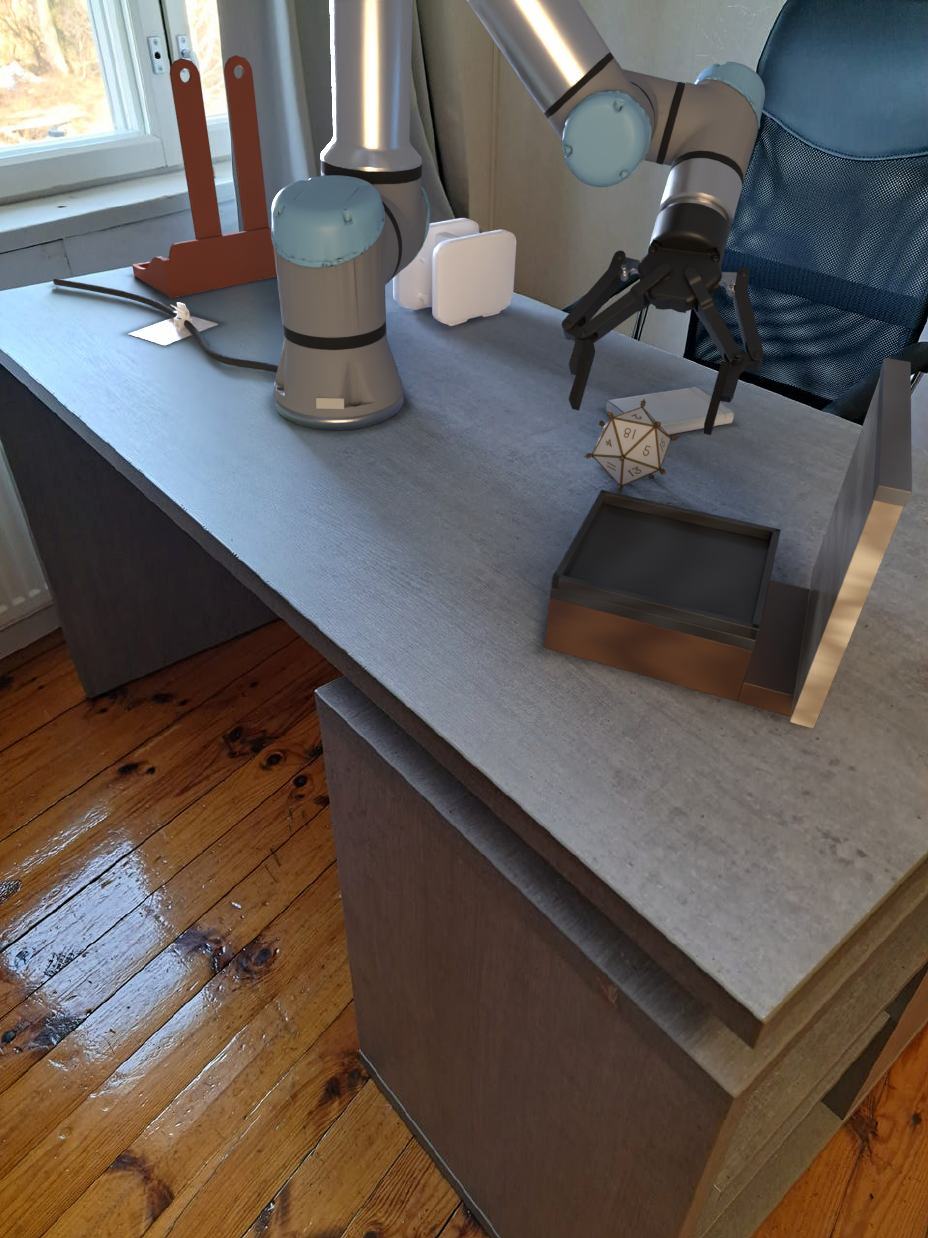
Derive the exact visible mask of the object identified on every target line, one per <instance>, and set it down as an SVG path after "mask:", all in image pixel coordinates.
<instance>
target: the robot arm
mask: <svg viewBox="0 0 928 1238" xmlns="http://www.w3.org/2000/svg"><path fill="white" fill-rule="evenodd" d="M413 2H414V0H329V15H330V16H329V19H330V21H329V23H330V55H331V56H330V58H331V59H330V61H331V87H332V88H331V96H332V130H333V133H332V134H333V136H332V138H331V140H330V142H329V143H328V144H327V145H326V146H325V147H324V148H323V150H322V151H321V152H320V175H318V176H313V177H312V176H311V177H309V179H307V180H305V179H300V180H297V181H295V182H291V183H290V184H288V185H286V186H284V187H283V188H281V189H280V190H279V192H277V194H276V195H275V197H274V199H273V201H272V204H271V211H270V213H271V226H272V227H271V226H270V227H271V239H272V243H273V246H274V255H275V263H276V272H277V276H276V280H277V289H278V296H279V297H278V299H279V309H280V316H281V325H282V334H283V342H282V347H281V352H280V357H279V361H278V364H274V363H269V362H264V361H257V360H248V359H242V358H235V357H231V356H227V355H224V354H222V353H219V352H217V351H216V350H214V349H213V348H212V347H211V345H210V344H209V342H208V340H207V339H206V338H205V337H204V335H203V334H202V333H201V331H200V332H199V331H198V330H197V329H196V328H195V327H194V326H193V325H192V323H190V322H189V321H188V320H185V321H184V326H185V327H186V328H187V329H188V330H189V331H190V333H191V334H192V335H191V336H193V338H194V339H195V340H196V341H197V342H198V343H199V345H200V346H201V348H202V349H203V352H205V354H206V355H207V357H209V358H211V359H212V360H214V361H217V362H219V363H221V364H224V365H229V366H233V367H238V368H244V369H245V368H247V369H253V370H259V371H260V370H261V371H268V372H271V373H275V378H274V382H273V383H274V384H273V401H274V408H275V409H276V411H277V412H278V413H279V415H280V416H282V417H283V418H285V419H286V420H288V421H289V422H292V423H294V424H297V425H300V426H304V427H307V428H313V429H321V430H353V429H359V428H365V427H369V426H373V425H376V424H379V423H383V422H384V421H387V420H389V419H390V418H392V417H393V416H396V415H397V413H398V412H400V410H401V409H402V407H403V405H404V385H403V380H402V378H401V376H400V372H399V369H398V366H397V364H396V361H395V358H394V355H393V352H392V350H391V347H390V344H389V341H388V337H387V307H386V306H387V305H386V302H387V301H386V285H388V284H389V283H390V282H391V281H392V280H393V278H394V277H395V276H396V275H397V274H398V273H399V272H400V271H401V270H403V269H404V268H406V267H407V266H408V265H409V264H410V263H411V262H412V261H413V260H414V259H415V258H416V256H417V255H418V253H419V252H420V250H421V248H422V247H423V244H424V242H425V240H426V237H427V234H428V231H429V226H430V224H431V208H430V207H431V206H430V201H429V198H428V195H427V193H426V190H425V188H424V187H423V186H422V182H423V181H422V180H423V179H422V177H423V176H422V174H423V158H422V157H421V155H420V154H419V153H418V151H417V150H416V149H415V148H414V146H413V145H412V144H411V141H410V139H411V138H410V137H411V136H410V133H411V132H410V131H411V89H412V46H413V44H412V43H413ZM466 2H467V3H468V5H469V6H470V7H471V9H472V11H473V12H474V13H475V15H476V16H477V18H478V19H479V21H480V22H481V24H482V25H483V26H484V28H485V29H486V31H487V32H488V35H489V36H490V37H491V38H492V40H493V41H494V43H495V44H496V46H497V47H498V49H499V50H500V52H501V54H503V56H504V57H505V59H506V60H507V62H508V64H509V65H510V66H511V68H512V69H513V70H514V72H515V74H516V76H517V77H518V78H519V80H520V81H521V82H522V84H523V85H524V87H525V88H526V90H527V92H528V93H529V94H530V96H531V97H532V98H533V100H534V102H535V103H536V104H537V106H538V107H539V109H540V110H541V111H542V113H543V115H544V117H546V120H547V121H548V123H549V125H550V126H551V128H552V129H553V130H554V132H555V133H556V135H557V136H558V138H559V139H560V141H561V149H562V153H563V158H564V161H565V164H566V166H567V168H568V170H569V171H570V172H571V174H572V175H573V176H574V177H575V178H576V179H577V180H579V181H580V182H582V183H583V184H585V185H587V186H589V187H595V188H609V187H613V186H616V185H618V184H620V183H622V182H623V181H625V180H627V179H629V178H630V176H632V175H633V174H634V173H635V172H636V171H637V170H638V169H639V167H640V165H641V164H642V163H643V162H644V161H645V162H650V163H655V164H656V165H662V166H663V165H664V166H669V167H670V170H669V173H668V177H667V180H666V184H665V187H664V190H663V194H662V197H661V201H660V205H659V210H658V215H657V216H656V218H655V223H654V226H653V230H652V233H651V237H650V241H649V244H648V247H647V251H646V253H645V255H644V256H643V257H642V258H641V259H640V260H639V259H636V258H631V257H628V256H627V255H626V252H625V251H624V250H617V251H615V253H613V256H612V259H611V261H610V262H609V266H608V269H607V270H606V271H604V273H603V274H602V275H601V276H600V278H599V279H598V280H597V281H596V282H595V283H594V284H593V286H592V287H591V288H590V289H589V290H588V291H587V293H585V295H584V296H583V297H582V298H581V299H580V301H578V303H577V304H576V305H575V306H574V307H573V309H572V310H571V311H570V312H569V313H568V314H567V315H566V317H565V318H564V319H563V320H562V321H561V328H562V332H563V334H564V338H565V339H566V340H567V341H572V342H574V345H573V348H572V351H571V355H570V358H569V362H568V368H569V372H570V375H572V376H574V378H573V383H572V386H571V390H570V393H569V397H568V402H569V404H570V407H571V410H574V411H580V409H581V405H582V402H583V397H584V395H585V391H586V386H587V384H588V382H589V381H588V380H589V377H590V374H591V370H592V367H593V363H594V359H595V357H596V353H597V352H596V351H597V350H596V346H595V343H596V342H598V341H599V340H601V339H602V338H603V337H605V336H606V335H608V334H609V333H610V332H612V331H613V330H614V329H615V328H617V327H619V325H621V324H622V323H624V322H626V321H627V320H628V319H630V318H631V317H632V316H634V314H636V313H637V312H642V311H644V310H645V309H646V308H647V307H649V306H651V305H652V306H654V307H655V310H662V311H665V310H672V311H674V312H678V313H681V314H686V313H687V312H688V311H692V310H693V311H694V312H695V314H696V316H697V318H698V320H699V321H700V322H702V324H703V326H704V328H705V330H706V331H707V334H708V336H709V337H710V339H711V341H712V342H713V344H714V346H715V348H716V349H717V351H718V353H719V355H720V356H721V359H722V360H723V361H722V360H721V362H720V364H719V369H718V372H717V375H716V380H715V383H714V386H713V391H712V394H711V401H710V405H709V408H708V412H707V416H706V419H705V423H704V428H703V435H708V436H712V433H713V430H714V427H715V426H714V423H715V419H716V416H717V412H718V408H719V405H720V403H721V402H724V403H731V402H732V401H733V399H734V397H735V393H736V391H737V390H736V389H737V386H738V383H739V378H740V375H741V374H742V373H743V372H745V371H749V370H751V371H754V372H755V371H756V372H757V371H759V370H760V369H761V368H762V365H763V361H764V356H765V352H764V348H763V344H762V340H761V336H760V332H759V328H758V325H757V321H756V317H755V313H754V309H753V306H752V301H751V297H750V294H749V290H748V289H749V281H750V275H751V274H750V273H751V272H750V269H749V268H748V267H746V266H743V267H739V269H738V270H737V271H736V272H733V271H723V270H722V267H721V266H722V262H723V258H724V255H725V251H726V248H727V244H728V241H729V237H730V232H731V226H732V225H733V222H734V219H735V215H736V212H737V207H738V203H739V200H740V196H741V193H742V190H743V185H744V181H745V178H746V174H747V171H748V167H749V164H750V160H751V157H752V155H753V154H752V153H753V150H754V147H755V145H756V144H755V143H756V139H757V136H758V134H759V130H760V127H761V117H762V113H763V109H764V105H765V99H766V90H765V88H766V87H765V85H764V82H763V80H762V78H761V76H760V75H759V74H758V73H757V72H756V71H755V70H754V69H753V68H751V67H749V66H748V65H746V64H743V63H740V62H736V61H727V62H725V63H724V64H720V63H713V64H711V65H709V66H707V67H706V68H704V70H702V71H701V72H700V73H699V74H698V76H697V78H696V80H695V82H694V83H692V82H688V81H687V82H683V81H675V80H672V79H668V78H667V79H666V78H663V77H658V76H654V75H650V74H646V73H641V72H638V71H634V70H629V69H626V68H625V69H624V68H622V66H621V65H620V63H619V62H618V61H617V59H616V58H615V56H614V55H613V53H612V52H611V49H610V47H609V46H608V44H607V43H606V41H605V39H604V38H603V37H602V35H601V33H600V32H599V30H598V29H597V27H596V25H595V24H594V23H593V21H592V19H591V17H590V16H589V14H588V13H587V11H586V10H585V8H584V7H583V5H582V3H581V2H580V0H466ZM633 275H637V276H638V279H639V281H638V282H636V283H635V284H634V285H632V286H631V288H630V290H629V291H628V292H627V293H625V294H624V295H622V296H621V297H620V298H618V299H617V300H615V301H614V302H613V303H612V304H610V305H609V306H607V307H606V308H605V309H603V310H602V311H600V310H601V308H603V306H604V305H605V304H606V303H607V302H608V301H609V299H611V297H612V296H613V295H614V293H616V291H617V290H618V289H619V287H620V286H621V284H622V282H627V281H628V280H629V279H630V277H631V276H633ZM52 283H53V285H55V286H59V287H65V288H72V289H77V290H84V291H90V292H95V293H99V294H105V295H110V296H116V297H121V298H124V299H129V300H132V301H136V302H139V303H142V304H145V305H148V306H151V307H153V308H156V309H158V310H160V311H162V312H164V313H165V314H168V315H169V316H170V317H171V318H173V317H176V316H177V313H174V312H173V311H176V309H175V308H173V307H172V306H170V305H167V304H165V303H162V302H161V301H158V300H156V299H153V298H151V297H147V296H144V295H141V294H138V293H134V292H130V291H126V290H122V289H119V288H113V287H107V286H102V285H97V284H91V283H86V282H80V281H74V280H69V279H62V278H53V280H52ZM720 287H723V288H724V289H725V292H726V294H727V296H728V297H730V298H733V308H734V313H735V316H736V321H737V324H738V328H739V332H740V336H741V341H742V344H743V347H744V351H741V349H740V348H739V346H738V344H737V342H736V340H735V339H734V337H733V335H732V333H731V331H730V330H729V328H728V326H727V325H726V323H725V321H724V319H723V318H722V316H721V314H720V312H719V310H718V309H717V307H716V305H715V303H714V300H713V297H712V294H713V293H715V292H716V291H717V290H718V289H719V288H720ZM599 311H600V312H599ZM597 313H598V314H597ZM596 314H597V315H596ZM180 319H182V318H179V320H180Z"/></svg>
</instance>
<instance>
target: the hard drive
mask: <svg viewBox="0 0 928 1238" xmlns="http://www.w3.org/2000/svg"><path fill="white" fill-rule="evenodd" d="M711 397H712V395H709V394H708V393H706V392H704V390H702V389H700V388H698V387H697V386H693V387H685V388H678V389H672V390H665V391H658V392H651V393H646V394H640V395H633V396H627V397H620V398H613V399H608V400H607V401H606V407H605V411H606V412H607V413H608V412H612V414H614V415H613V416H617V415H620V414H622V413H625V412H628V411H631V410H634V409H636V408H639V407H641V405H640V404H641V401H642V400H643V399H645V402H646V403H645V406H644V409H645V410H646V411H647V412H648V413H649V414H650V415H651V416H652V417H653V418H654V419H655V421H656V422H657V421H658V422H661V427H662V428H663V429H664V430H665V431H666V433H667V434H668V435H669V436H670V435H675V434H679V433H683V432H684V433H685V432H690V431H695V430H701V429H704V423H705V419H706V416H707V412H708V408H709V405H710V401H711ZM734 416H735V413H734V411H732V410H731V409H730V408H728V407H727V406H725V405H724V404H723V403H721V402H720V405H719V408H718V412H717V416H716V419H715V423H714V427H717V426H723V425H728V424H732V423H733V420H734Z"/></svg>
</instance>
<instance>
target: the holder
mask: <svg viewBox="0 0 928 1238" xmlns="http://www.w3.org/2000/svg"><path fill="white" fill-rule="evenodd" d="M911 365H912V363H911V361H906V360H900V359H895V358H888V357H884V359H883V361H882V364H881V367H880V369H879V370H880V371H879V372H880V373H879V378H878V380H877V384H876V386H875V388H874V389H875V390H874V392H873V395H872V398H871V400H870V404H869V407H868V409H867V413H866V415H865V418H864V421H863V424H862V427H861V429H860V432H859V435H858V437H857V441H856V444H855V447H854V450H853V453H852V456H851V459H850V461H849V465H848V467H847V470H846V472H845V475H844V479H843V482H842V484H841V488H840V490H839V493H838V496H837V498H836V502H835V505H834V508H833V510H832V513H831V516H830V519H829V521H828V525H827V528H826V530H825V533H824V537H823V539H822V541H821V545H820V548H819V550H818V552H817V556H816V559H815V562H814V565H813V567H812V571H811V577H810V585H809V588H806V587H802V586H798V585H794V584H790V583H786V582H782V581H777V580H772V575H773V569H774V564H775V560H776V555H777V550H778V546H779V541H780V536H781V532H782V529H780V528H776V527H772V526H767V525H763V524H758V523H754V522H749V521H745V520H740V519H736V518H731V517H726V516H722V515H719V514H714V513H709V512H704V511H699V510H695V509H691V508H687V507H683V506H677V505H673V504H668V503H663V502H659V501H655V500H649V499H645V498H640V497H636V496H632V495H628V494H623V493H620V494H619V493H618V492H614V491H610V490H604V489H601V490H600V491H599V493H598V495H597V497H596V499H595V500H594V502H593V503H592V505H591V507H590V509H589V511H588V512H587V515H586V516H585V518H584V520H583V521H582V523H581V525H580V527H579V529H578V531H577V532H576V534H575V535H574V538H573V539H572V541H571V542H570V545H569V546H568V549H567V550H566V552H565V554H564V555H563V557H562V559H561V560H560V563H559V564H558V566H557V568H556V569H555V572H554V573H553V575H552V577H551V585H550V593H549V594H550V595H549V601H548V610H547V619H546V627H545V637H544V644H543V647H544V649H547V650H551V651H555V652H558V653H562V654H566V655H569V656H572V657H576V658H579V659H583V660H587V661H590V662H594V663H598V664H601V665H605V666H608V667H613V668H615V669H619V670H623V671H626V672H630V673H633V674H637V675H640V676H644V677H648V678H650V679H655V680H657V681H658V680H659V681H662V682H666V683H670V684H673V685H677V686H680V687H683V688H688V689H691V690H694V691H698V692H702V693H705V694H709V695H712V696H716V697H719V698H723V699H726V700H730V701H733V702H738V703H741V704H744V705H749V706H752V707H755V708H759V709H763V710H767V711H770V712H774V713H777V714H780V715H784V716H787V717H789V722H790V723H791V724H795V725H798V726H803V727H806V728H809V729H814V728H815V725H816V723H817V720H818V718H819V715H820V713H821V712H822V708H823V707H824V703H825V701H826V699H827V696H828V694H829V691H830V689H831V686H832V684H833V681H834V679H835V677H836V674H837V672H838V669H839V667H840V665H841V662H842V659H843V657H844V654H845V653H846V650H847V647H848V645H849V642H850V640H851V637H852V635H853V633H854V630H855V627H856V625H857V622H858V620H859V617H860V614H861V613H862V610H863V607H864V605H865V603H866V600H867V598H868V595H869V593H870V591H871V589H872V585H873V583H874V580H875V578H876V576H877V573H878V571H879V568H880V566H881V563H882V561H883V558H884V556H885V554H886V551H887V549H888V546H889V544H890V541H891V539H892V536H893V534H894V531H895V529H896V526H897V524H898V521H899V519H900V517H901V514H902V512H903V509H904V508H906V507H907V506H908V504H909V501H910V500H911V496H912V494H913V472H912V471H913V460H912V459H913V455H912V454H913V453H912V451H913V449H912V448H913V447H912V376H911V375H912V374H911V373H912V371H911V370H912V369H911V367H912V366H911Z"/></svg>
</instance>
